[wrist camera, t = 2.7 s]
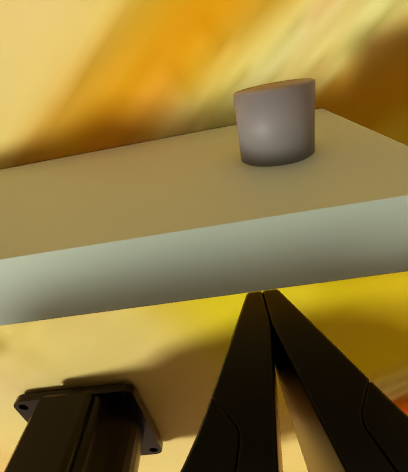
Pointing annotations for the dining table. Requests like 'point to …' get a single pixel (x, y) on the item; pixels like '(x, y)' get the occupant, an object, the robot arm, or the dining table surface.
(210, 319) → the dining table surface
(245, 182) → the door
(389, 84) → the dining table surface
